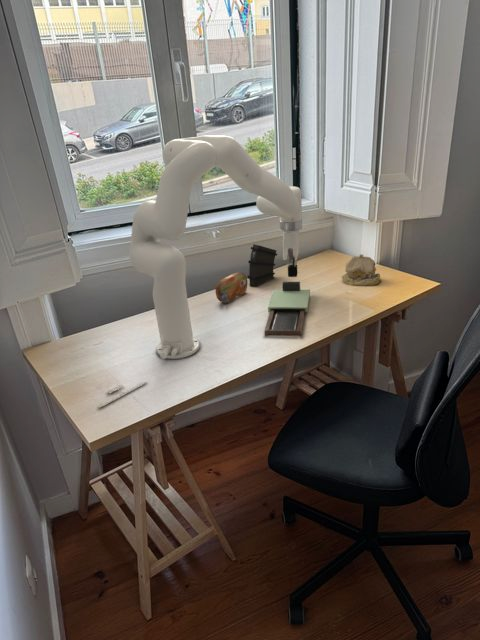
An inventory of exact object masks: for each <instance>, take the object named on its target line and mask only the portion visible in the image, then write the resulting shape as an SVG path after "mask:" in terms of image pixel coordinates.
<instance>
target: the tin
mask: <svg viewBox="0 0 480 640" xmlns="http://www.w3.org/2000/svg"><path fill="white" fill-rule="evenodd" d="M247 289H248V277H247V276H246V274H245V273H243V272H234V273H231V274H230V275H228V276H226V277H224V278H222V279H220V280H219V281H218V282H217V284H216V286H215V297H216V299H217V301H219V302H221V303H225V304H229V303H231V302H233V301H234V300H236V299H237V297H242V296H243V295H245V293H246V291H247Z"/></svg>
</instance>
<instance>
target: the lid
mask: <svg viewBox="0 0 480 640" xmlns="http://www.w3.org/2000/svg"><path fill="white" fill-rule="evenodd" d="M310 295H311V289H301V281H282V289H273V290H272V294H271V296H270V300H269V304H268V305H267V312H268V313H270V311H271V309H305V313H308V309H309V305H310V304H309V303H310Z"/></svg>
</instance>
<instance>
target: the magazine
mask: <svg viewBox="0 0 480 640" xmlns="http://www.w3.org/2000/svg"><path fill="white" fill-rule="evenodd" d="M250 250H251V251H250V257H249V260H248V262H247V263H248V264H249V268H248V274H249V275H247V280H248V281H249V285H250V286H253V287H257V286H259V285H262V284H264V283H266V282H268V281H270V280H272V279H274V276H275V275H276V272H274V266H276V263H275V259H276V257H277V256H278V253H277V250H276V249H273V248H270V247H267V246H263V245H259V244H255V243H254V244H252V246H250Z"/></svg>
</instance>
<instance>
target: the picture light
mask: <svg viewBox="0 0 480 640" xmlns="http://www.w3.org/2000/svg"><path fill="white" fill-rule="evenodd" d="M143 385H145V382H140V383H139V384H137V385H135V386H133V387H131V388H129V389H127V390H126V391H124V390H123V388H122V384H120V383H116V384H115V385H114V386H112V387H109V388H108V389H107V390H106V393H108V394H112V393H114V392H117V391H119V394H118V395H116V396H114V397H112V398H111V399H108V400H107V401H105V402H103V403H101V404H100V405H99V406H98V408H103V407H105V406H106V405H108V404H110V403H112V402H114V401H116V400H118V399H120V398H122V397H123V396H125V395H128V394H129V393H131V392H132V391H134V390H137V389H138V388H141V387H142V386H143ZM120 389H121V390H122V392H121V390H120Z"/></svg>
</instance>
